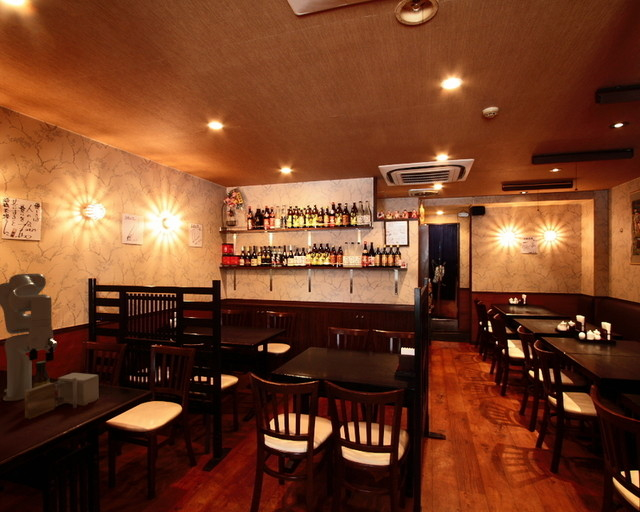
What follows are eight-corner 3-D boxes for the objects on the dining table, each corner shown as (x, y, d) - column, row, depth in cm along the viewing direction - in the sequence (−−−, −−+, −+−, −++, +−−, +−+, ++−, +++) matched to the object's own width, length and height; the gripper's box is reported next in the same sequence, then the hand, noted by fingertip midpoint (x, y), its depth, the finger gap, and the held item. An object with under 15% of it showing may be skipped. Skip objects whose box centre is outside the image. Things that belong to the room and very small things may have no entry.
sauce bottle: (52, 401, 173) (52, 360, 174) (38, 406, 168) (38, 364, 168) (45, 399, 176) (44, 359, 176) (30, 403, 170) (30, 362, 171)
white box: (50, 405, 168) (50, 376, 168) (73, 396, 179) (73, 368, 180) (76, 408, 164) (76, 378, 164) (98, 399, 175) (98, 371, 175)
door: (23, 418, 155) (23, 390, 155) (57, 404, 170) (57, 379, 170) (31, 419, 154) (31, 391, 154) (65, 405, 169) (64, 380, 169)
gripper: (18, 323, 159) (18, 361, 159) (47, 325, 155) (47, 363, 154) (35, 320, 166) (35, 357, 166) (63, 322, 162) (64, 359, 162)
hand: (41, 360), depth 160 cm, fingers open, 9 cm apart
